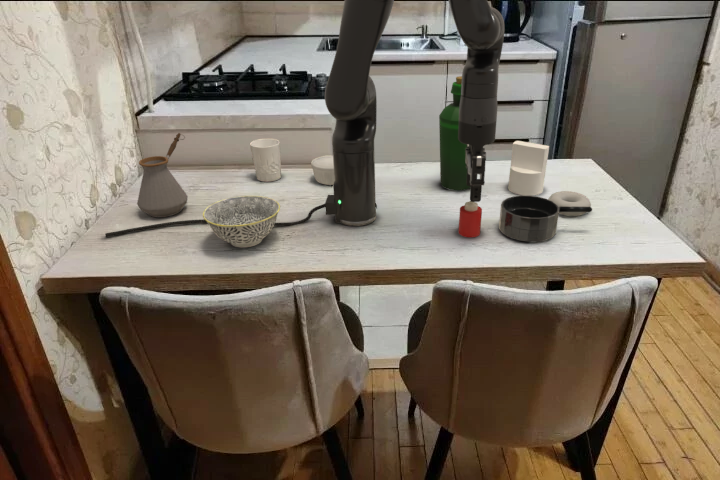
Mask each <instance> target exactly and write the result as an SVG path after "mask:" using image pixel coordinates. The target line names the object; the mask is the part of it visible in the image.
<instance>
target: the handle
mask: <svg viewBox="0 0 720 480" xmlns="http://www.w3.org/2000/svg"><path fill="white" fill-rule="evenodd" d="M592 211H593V208H592V206H591V207H561V206H560V207H559V212H587V213H592Z"/></svg>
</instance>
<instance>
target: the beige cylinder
mask: <svg viewBox="0 0 720 480" xmlns="http://www.w3.org/2000/svg"><path fill="white" fill-rule="evenodd" d="M249 146H250V152H251V157H252V163H253V167H254V171H255V177H256V179H257V181H259V182H267V183H269V182H270V183H271V182H275V181H278V180H280V179H281V177H282V156H281V143H280V140H278V139H276V138H259V139H254V140H252V141H251V142H250V143H249Z"/></svg>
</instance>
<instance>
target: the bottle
mask: <svg viewBox="0 0 720 480" xmlns="http://www.w3.org/2000/svg"><path fill="white" fill-rule="evenodd" d="M461 84H462V75H459V76H456V77H455V81H453V82H452V85H451V90H450V93H451V94H452V102H451V103H450V104H448V105H447V106H445V107H444V108H443V109H442V111H441V112H440V114H439V116H438V119H439V124H438V125H439V167H440V168H439V170H440V180H439V181H440V185H441V186H442V187H443V188H445V189H447V190H449V191H456V192H459V191H460V192H461V191H465V190H468V189H470V187H471V186H467V184H466V182H467V167H466V165H467V164H466V163H465V157H466V156H465V149H466V148H467V145H466V144H463V143H461V142H460V141H459V140H458V126H459V105H460V100H461Z"/></svg>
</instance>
